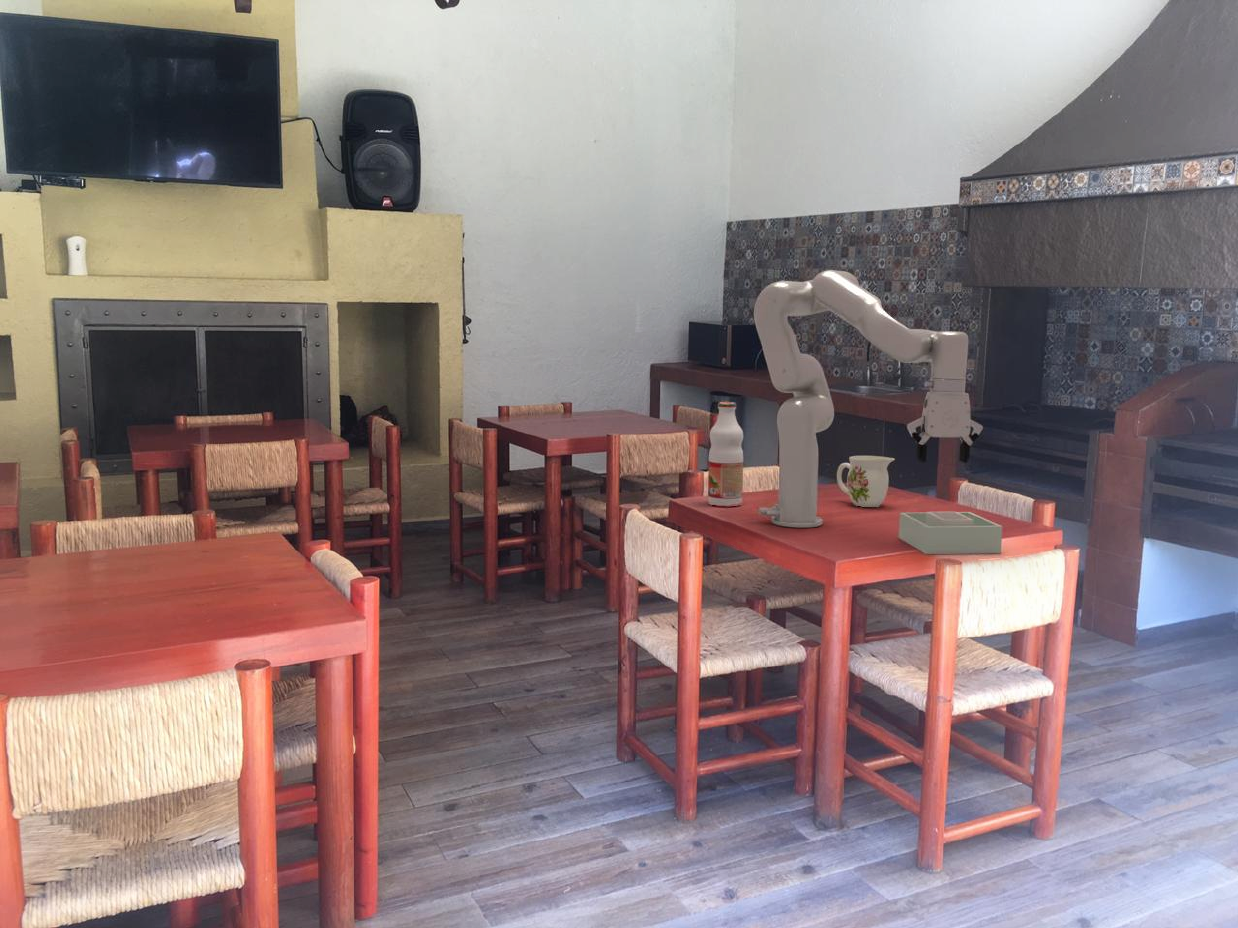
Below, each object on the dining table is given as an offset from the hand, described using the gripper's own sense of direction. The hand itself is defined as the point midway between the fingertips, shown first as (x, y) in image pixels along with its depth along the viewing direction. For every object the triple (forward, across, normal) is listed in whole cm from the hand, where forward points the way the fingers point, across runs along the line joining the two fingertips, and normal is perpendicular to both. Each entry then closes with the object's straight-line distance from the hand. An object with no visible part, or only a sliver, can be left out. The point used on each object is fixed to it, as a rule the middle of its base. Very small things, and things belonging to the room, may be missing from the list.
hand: (942, 461), depth 242 cm
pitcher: (+20, -2, +47) cm, 51 cm away
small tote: (+18, +1, -3) cm, 18 cm away
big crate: (+19, +1, -4) cm, 19 cm away
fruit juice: (+20, -40, +50) cm, 67 cm away
